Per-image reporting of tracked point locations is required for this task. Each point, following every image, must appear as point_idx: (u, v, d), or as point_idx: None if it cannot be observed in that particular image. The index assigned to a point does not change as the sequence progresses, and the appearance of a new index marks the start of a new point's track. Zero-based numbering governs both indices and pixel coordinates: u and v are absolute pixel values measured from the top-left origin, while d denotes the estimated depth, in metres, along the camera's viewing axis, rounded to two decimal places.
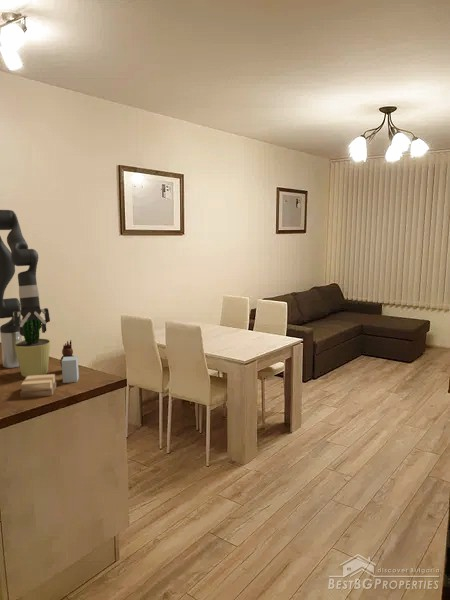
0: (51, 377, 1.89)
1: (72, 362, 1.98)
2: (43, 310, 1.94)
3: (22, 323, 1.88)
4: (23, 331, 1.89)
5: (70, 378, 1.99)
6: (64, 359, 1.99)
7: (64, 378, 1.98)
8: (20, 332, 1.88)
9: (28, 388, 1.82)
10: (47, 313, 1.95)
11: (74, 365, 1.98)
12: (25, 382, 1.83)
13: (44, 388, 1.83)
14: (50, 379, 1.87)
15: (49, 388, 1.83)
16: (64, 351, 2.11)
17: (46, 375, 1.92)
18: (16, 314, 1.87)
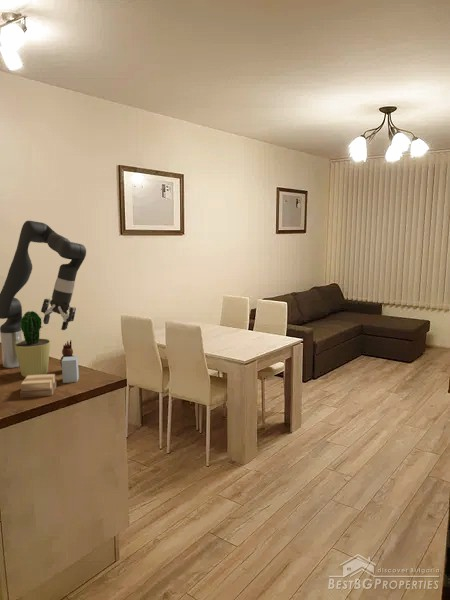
0: (51, 377, 1.89)
1: (72, 362, 1.98)
2: (69, 308, 1.86)
3: (47, 312, 1.88)
4: (45, 319, 1.88)
5: (70, 378, 1.99)
6: (64, 359, 1.99)
7: (64, 378, 1.98)
8: None
9: (28, 387, 1.82)
10: (70, 313, 1.85)
11: (74, 365, 1.98)
12: (25, 381, 1.83)
13: (44, 388, 1.83)
14: (50, 379, 1.87)
15: (49, 388, 1.83)
16: (64, 351, 2.11)
17: (46, 375, 1.91)
18: (45, 301, 1.88)
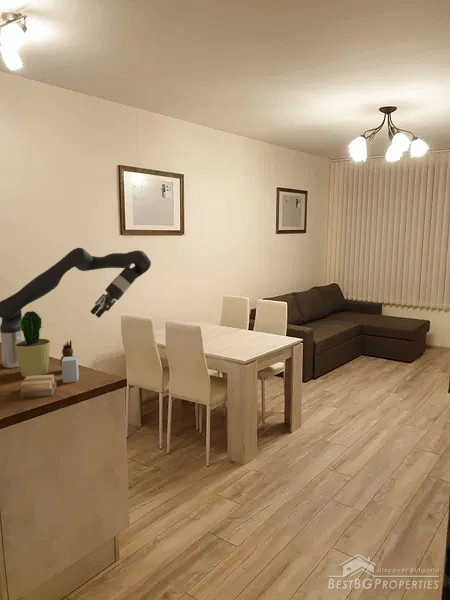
0: (50, 377, 1.89)
1: (72, 362, 1.98)
2: None
3: (97, 302, 2.07)
4: None
5: (70, 378, 1.99)
6: (64, 359, 1.99)
7: (64, 378, 1.98)
8: (92, 309, 2.07)
9: (27, 388, 1.81)
10: (108, 301, 1.99)
11: (74, 365, 1.98)
12: (24, 382, 1.83)
13: (43, 388, 1.83)
14: (50, 379, 1.87)
15: (48, 388, 1.83)
16: (64, 351, 2.11)
17: (45, 375, 1.91)
18: (102, 295, 2.10)
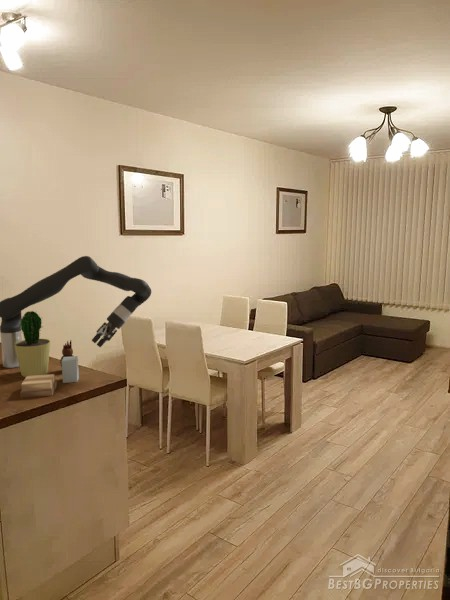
0: (51, 377, 1.89)
1: (72, 362, 1.98)
2: None
3: (98, 331, 2.09)
4: (94, 337, 2.09)
5: (70, 378, 1.99)
6: (64, 359, 1.99)
7: (64, 378, 1.98)
8: None
9: (28, 388, 1.82)
10: (109, 331, 2.01)
11: (74, 365, 1.98)
12: (25, 382, 1.83)
13: (44, 388, 1.83)
14: (50, 379, 1.87)
15: (49, 388, 1.83)
16: (64, 351, 2.11)
17: (46, 375, 1.92)
18: (103, 324, 2.12)
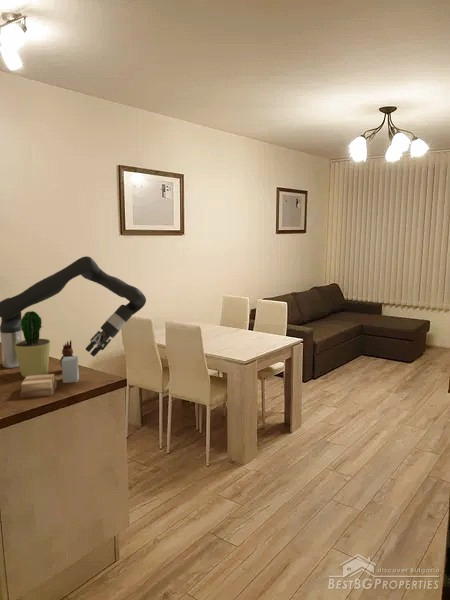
0: (51, 377, 1.89)
1: (72, 362, 1.98)
2: None
3: (92, 340, 2.08)
4: (88, 346, 2.07)
5: (70, 378, 1.99)
6: (64, 359, 1.99)
7: (64, 378, 1.98)
8: None
9: (28, 387, 1.82)
10: (103, 340, 2.00)
11: (74, 365, 1.98)
12: (25, 382, 1.83)
13: (44, 388, 1.83)
14: (50, 378, 1.87)
15: (49, 388, 1.83)
16: (64, 351, 2.11)
17: (45, 375, 1.92)
18: (97, 332, 2.11)
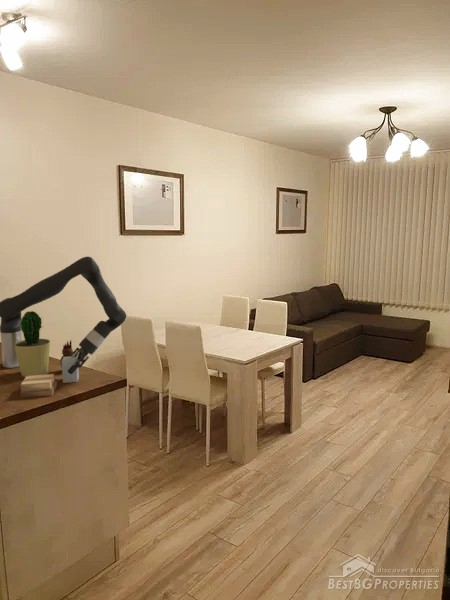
0: (50, 377, 1.89)
1: (72, 362, 1.98)
2: None
3: None
4: None
5: (70, 378, 1.99)
6: (64, 359, 1.99)
7: (64, 378, 1.98)
8: None
9: (27, 388, 1.82)
10: (81, 358, 1.96)
11: None
12: (24, 382, 1.83)
13: (44, 388, 1.83)
14: (50, 379, 1.87)
15: (49, 388, 1.83)
16: (64, 351, 2.11)
17: (45, 375, 1.92)
18: (76, 349, 2.07)
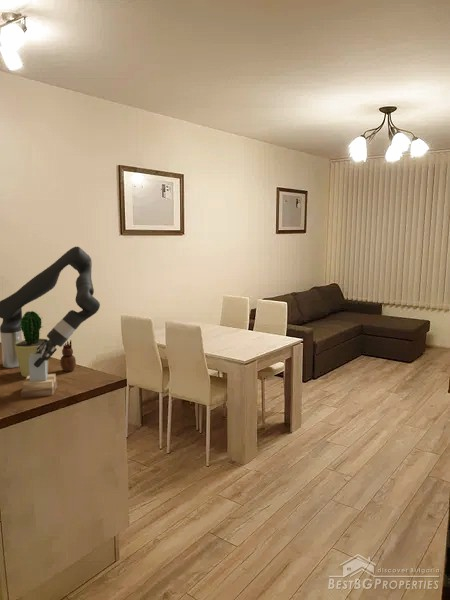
0: (52, 376, 1.89)
1: None
2: None
3: (38, 349, 1.90)
4: None
5: (38, 377, 1.84)
6: (31, 356, 1.84)
7: (31, 377, 1.83)
8: None
9: (29, 387, 1.82)
10: (48, 349, 1.81)
11: None
12: (26, 382, 1.83)
13: (46, 387, 1.83)
14: (52, 378, 1.87)
15: (51, 387, 1.84)
16: (64, 351, 2.11)
17: None
18: (44, 341, 1.92)
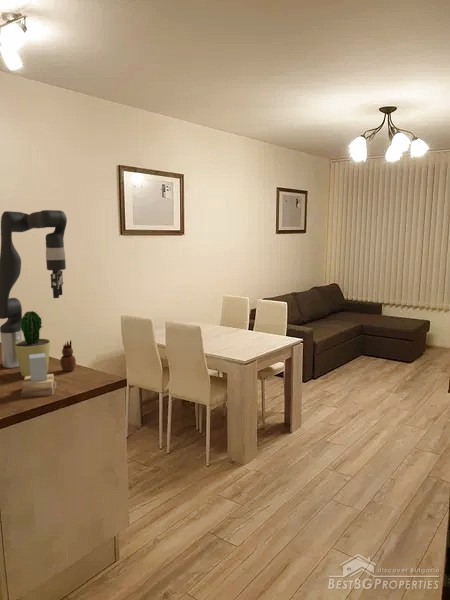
0: (51, 376, 1.90)
1: (42, 360, 1.84)
2: None
3: None
4: None
5: (39, 377, 1.84)
6: (31, 357, 1.84)
7: (33, 377, 1.83)
8: None
9: (29, 388, 1.82)
10: None
11: (44, 362, 1.84)
12: (25, 382, 1.83)
13: (45, 387, 1.84)
14: (51, 378, 1.88)
15: (50, 387, 1.84)
16: (64, 351, 2.11)
17: None
18: None
